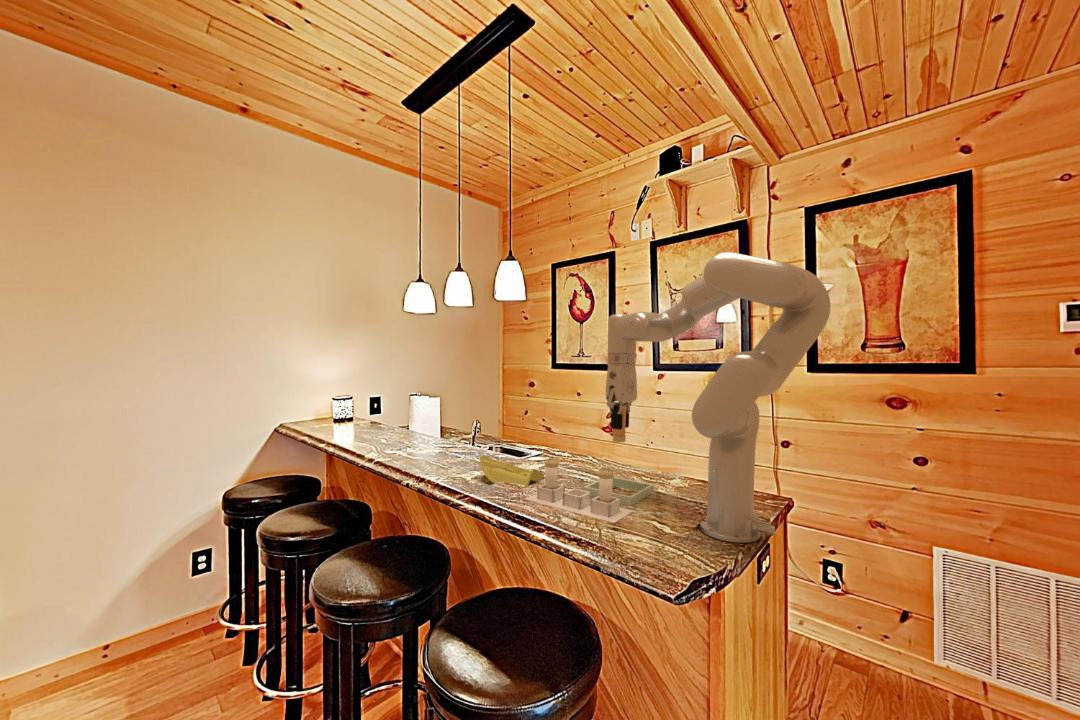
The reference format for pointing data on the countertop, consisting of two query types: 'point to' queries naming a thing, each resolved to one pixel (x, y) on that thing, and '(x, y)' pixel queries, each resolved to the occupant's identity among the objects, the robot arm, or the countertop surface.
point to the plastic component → (508, 472)
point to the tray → (641, 487)
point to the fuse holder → (580, 503)
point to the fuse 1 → (551, 473)
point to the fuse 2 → (605, 485)
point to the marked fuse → (620, 434)
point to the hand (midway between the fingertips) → (619, 427)
